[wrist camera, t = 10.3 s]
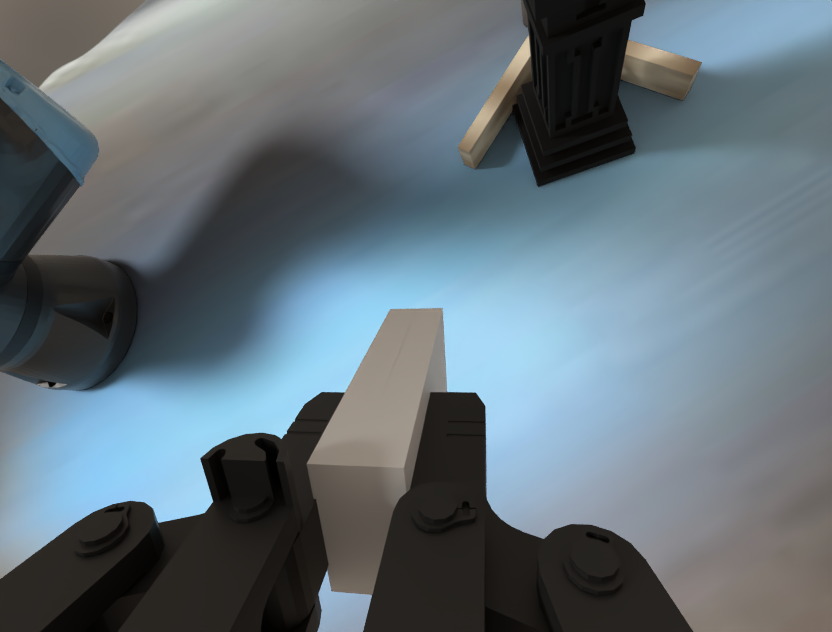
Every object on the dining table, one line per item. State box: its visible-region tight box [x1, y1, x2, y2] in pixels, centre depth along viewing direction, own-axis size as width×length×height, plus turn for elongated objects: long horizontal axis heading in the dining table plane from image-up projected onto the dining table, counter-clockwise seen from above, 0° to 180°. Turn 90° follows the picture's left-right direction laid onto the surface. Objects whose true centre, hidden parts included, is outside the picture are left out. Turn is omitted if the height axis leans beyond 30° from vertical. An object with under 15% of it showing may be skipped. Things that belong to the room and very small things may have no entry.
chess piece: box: [512, 0, 646, 187], centre depth 30 cm, size 8×8×20 cm
